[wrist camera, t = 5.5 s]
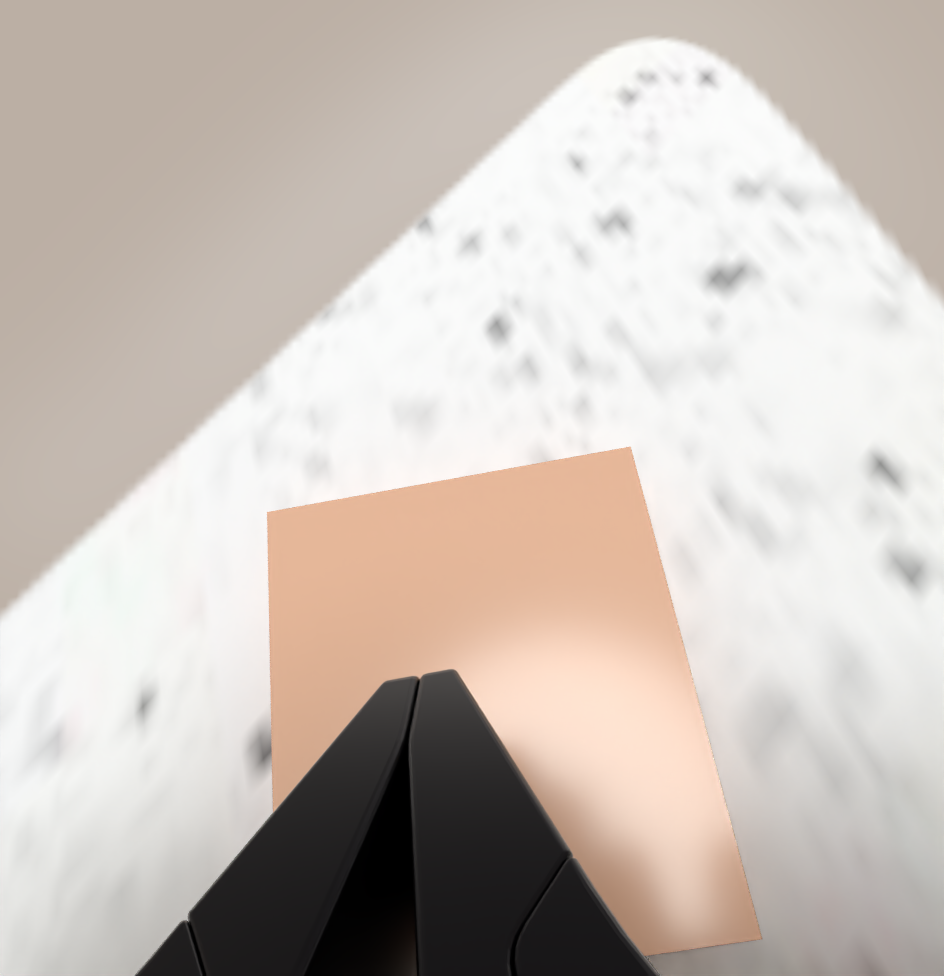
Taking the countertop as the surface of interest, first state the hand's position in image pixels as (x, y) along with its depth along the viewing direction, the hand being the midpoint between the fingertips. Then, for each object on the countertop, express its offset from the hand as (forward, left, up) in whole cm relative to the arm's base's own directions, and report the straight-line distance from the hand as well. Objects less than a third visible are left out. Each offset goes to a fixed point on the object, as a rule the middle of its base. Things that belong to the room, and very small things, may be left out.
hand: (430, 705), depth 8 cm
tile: (-4, 0, -6) cm, 7 cm away
